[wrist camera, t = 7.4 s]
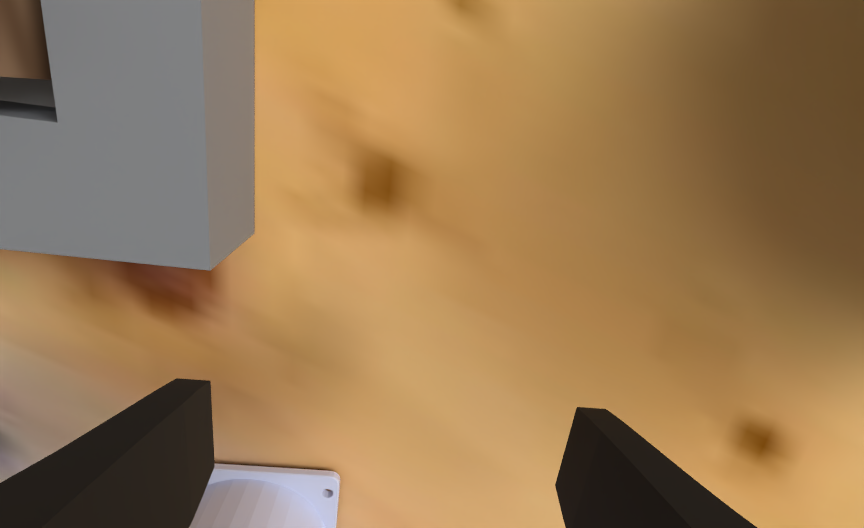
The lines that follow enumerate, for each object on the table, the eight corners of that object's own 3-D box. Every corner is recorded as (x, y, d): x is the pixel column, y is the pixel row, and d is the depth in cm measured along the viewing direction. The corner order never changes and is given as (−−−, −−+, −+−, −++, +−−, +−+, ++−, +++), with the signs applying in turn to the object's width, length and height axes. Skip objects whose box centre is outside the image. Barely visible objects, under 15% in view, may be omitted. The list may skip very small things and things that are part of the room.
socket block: (254, 233, 17) (210, 270, 13) (-95, 194, 16) (-252, 223, 12) (254, -163, 13) (191, -273, 9) (-212, -253, 12) (-503, -421, 8)
